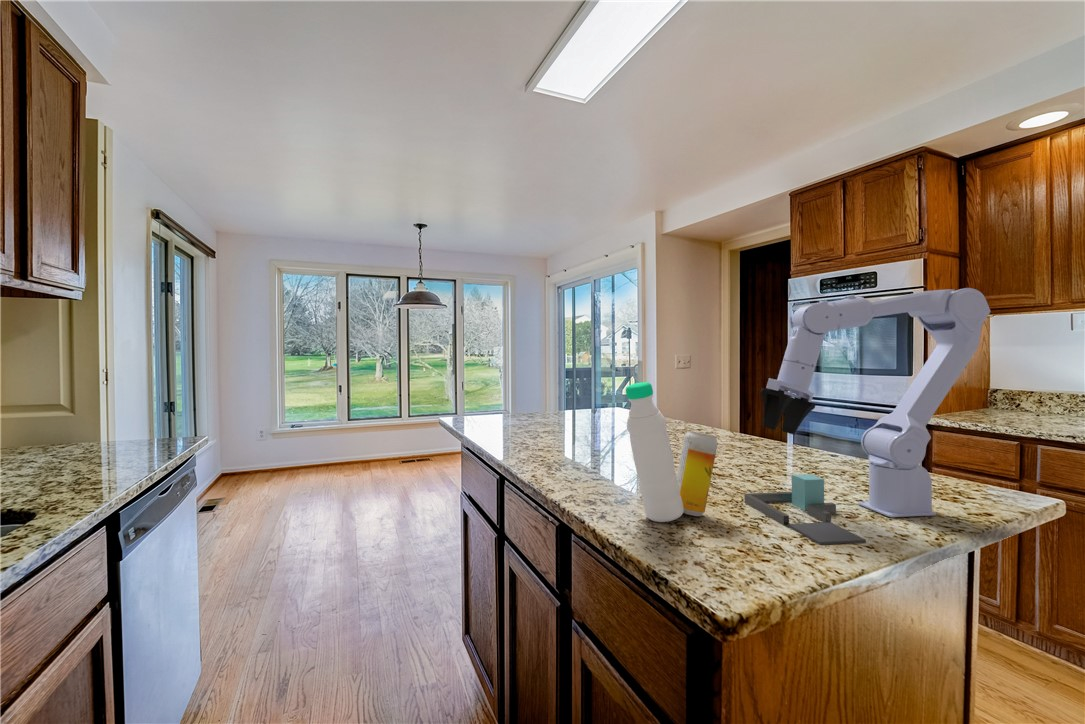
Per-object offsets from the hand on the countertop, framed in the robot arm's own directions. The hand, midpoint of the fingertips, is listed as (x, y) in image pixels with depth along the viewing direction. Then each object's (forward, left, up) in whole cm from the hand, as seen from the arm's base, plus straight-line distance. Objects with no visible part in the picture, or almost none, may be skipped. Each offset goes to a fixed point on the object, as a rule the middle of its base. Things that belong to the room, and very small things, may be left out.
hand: (778, 430), depth 91 cm
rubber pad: (0, +13, -15) cm, 20 cm away
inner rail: (-6, +6, -16) cm, 18 cm away
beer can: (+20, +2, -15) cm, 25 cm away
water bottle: (+24, +3, -15) cm, 29 cm away
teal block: (-6, 0, -15) cm, 17 cm away
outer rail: (-2, +2, -16) cm, 16 cm away
